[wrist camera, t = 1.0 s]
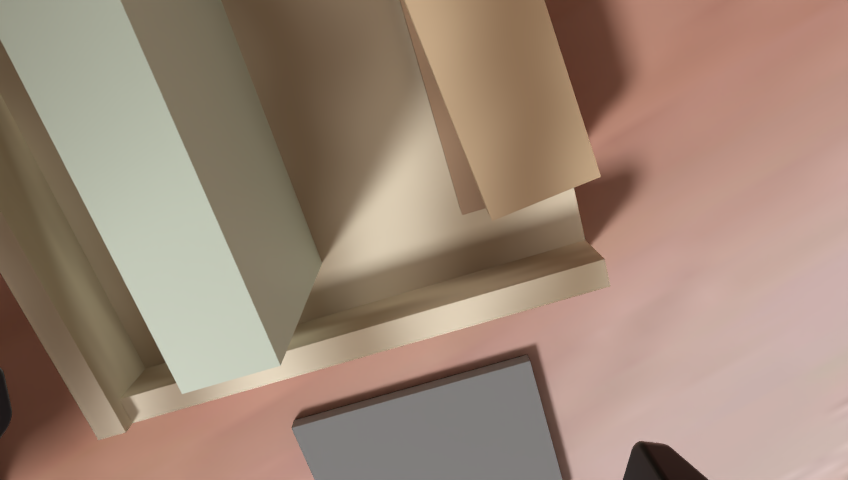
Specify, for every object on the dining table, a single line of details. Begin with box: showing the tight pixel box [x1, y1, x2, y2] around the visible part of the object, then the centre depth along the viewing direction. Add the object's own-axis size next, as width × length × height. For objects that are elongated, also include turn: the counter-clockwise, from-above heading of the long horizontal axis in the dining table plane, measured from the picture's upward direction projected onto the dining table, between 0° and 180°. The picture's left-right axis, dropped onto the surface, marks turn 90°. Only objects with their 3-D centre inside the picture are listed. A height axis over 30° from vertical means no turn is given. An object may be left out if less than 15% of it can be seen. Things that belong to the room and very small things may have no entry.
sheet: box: [0, 0, 322, 394], centre depth 15 cm, size 2×10×7 cm, turn 17°
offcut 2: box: [404, 0, 601, 221], centre depth 16 cm, size 4×8×1 cm, turn 23°
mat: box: [292, 355, 562, 480], centre depth 23 cm, size 10×7×1 cm
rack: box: [0, 0, 610, 440], centre depth 17 cm, size 18×16×4 cm
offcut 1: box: [399, 0, 486, 215], centre depth 17 cm, size 4×9×1 cm, turn 17°
